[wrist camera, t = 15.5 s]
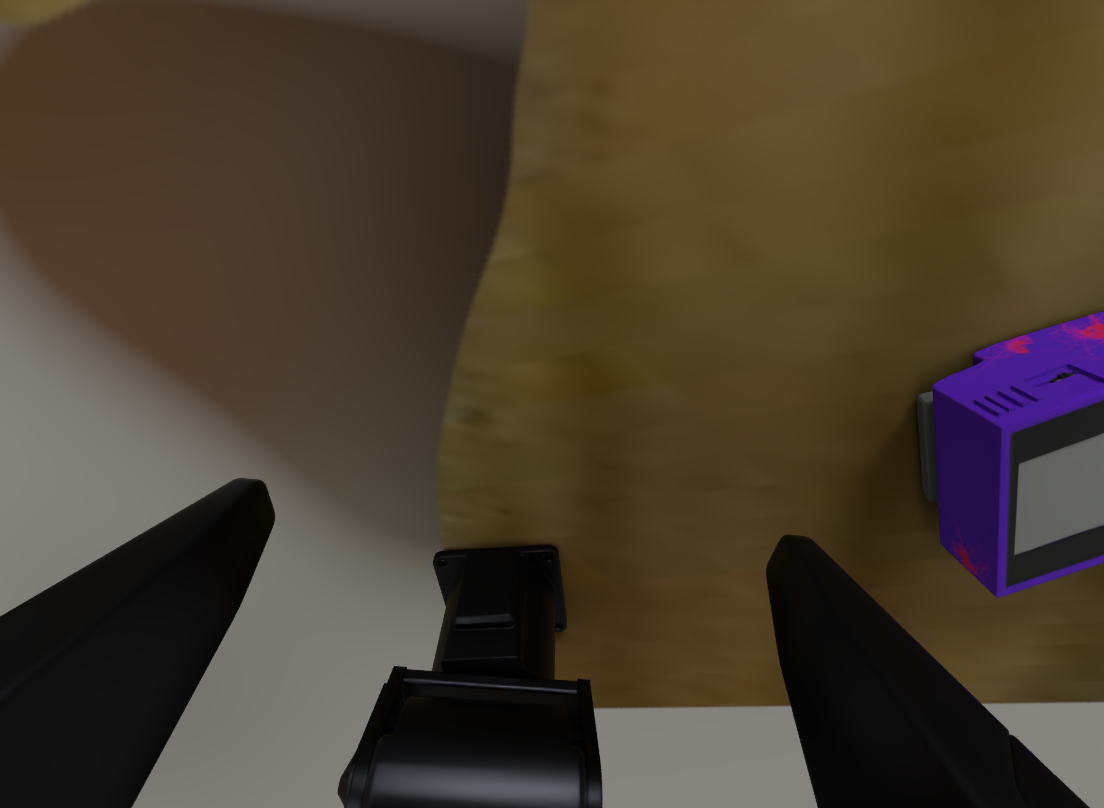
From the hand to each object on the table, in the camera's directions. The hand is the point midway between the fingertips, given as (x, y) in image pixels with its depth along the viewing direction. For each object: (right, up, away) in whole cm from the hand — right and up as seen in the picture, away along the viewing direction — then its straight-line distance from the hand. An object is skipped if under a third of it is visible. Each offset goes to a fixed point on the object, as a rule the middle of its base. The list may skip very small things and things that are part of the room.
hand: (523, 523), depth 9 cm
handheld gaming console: (+24, +3, +13) cm, 27 cm away
